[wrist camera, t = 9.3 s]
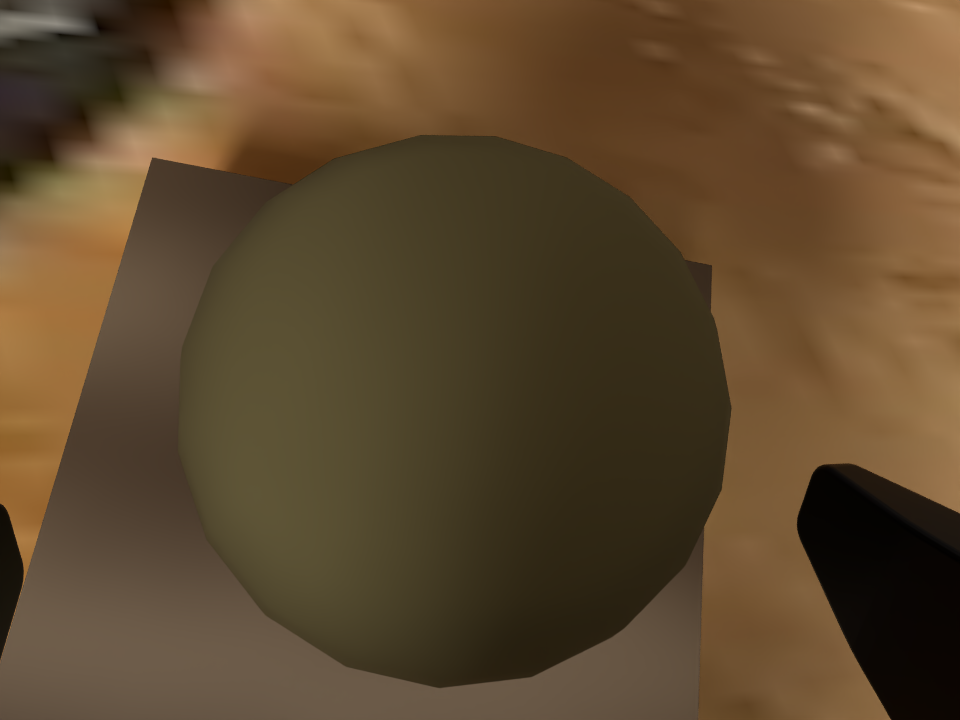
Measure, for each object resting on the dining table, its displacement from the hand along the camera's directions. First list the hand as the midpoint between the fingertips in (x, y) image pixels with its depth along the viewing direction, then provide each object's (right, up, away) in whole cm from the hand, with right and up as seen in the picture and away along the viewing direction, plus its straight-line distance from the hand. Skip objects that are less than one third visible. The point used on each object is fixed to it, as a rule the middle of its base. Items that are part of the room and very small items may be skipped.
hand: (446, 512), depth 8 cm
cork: (-1, -1, +8) cm, 8 cm away
